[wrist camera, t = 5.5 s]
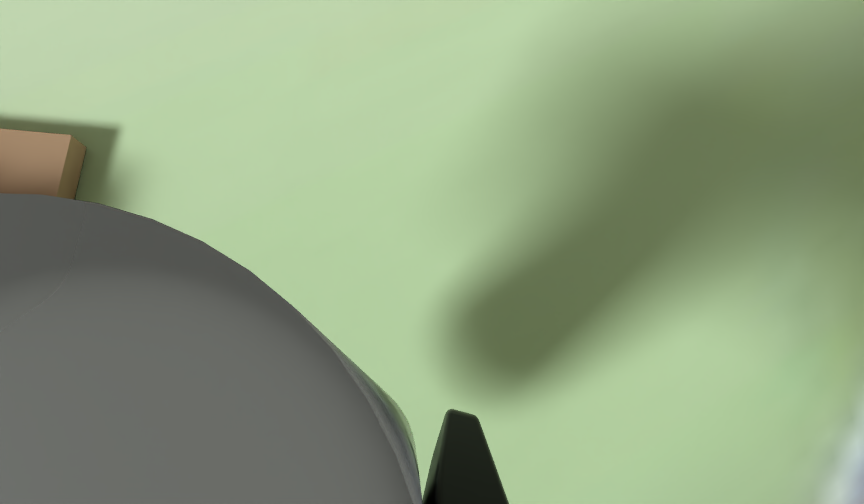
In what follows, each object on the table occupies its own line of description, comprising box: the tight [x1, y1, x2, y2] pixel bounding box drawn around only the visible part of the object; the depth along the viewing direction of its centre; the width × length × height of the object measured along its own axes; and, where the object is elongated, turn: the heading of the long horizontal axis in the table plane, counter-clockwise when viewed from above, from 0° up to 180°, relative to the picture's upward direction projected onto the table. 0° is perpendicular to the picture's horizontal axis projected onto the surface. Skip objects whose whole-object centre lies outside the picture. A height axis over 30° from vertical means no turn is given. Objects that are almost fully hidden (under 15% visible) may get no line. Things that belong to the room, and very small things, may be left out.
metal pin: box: [0, 193, 423, 504], centre depth 9 cm, size 4×4×13 cm
